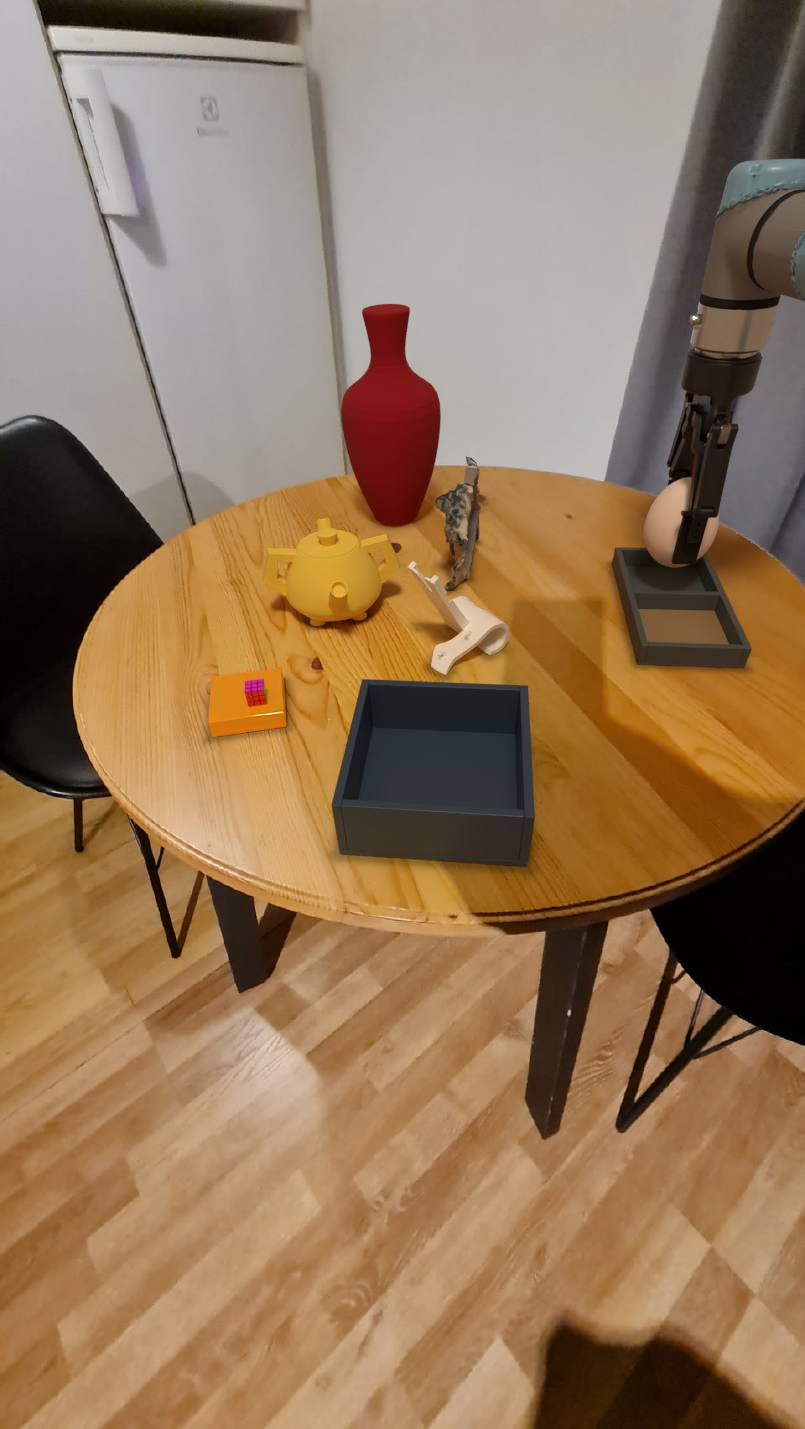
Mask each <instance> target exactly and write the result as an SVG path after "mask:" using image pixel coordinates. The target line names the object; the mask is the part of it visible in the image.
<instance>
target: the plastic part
mask: <svg viewBox="0 0 805 1429" xmlns="http://www.w3.org/2000/svg"><path fill="white" fill-rule="evenodd" d="M416 566H419V564H418V563H417V562H415V561H414V560H412V561H411V562H410V563H409V564H408V566H407V568H408V570H409V571H410V573H411V574H412V576H413V577H414V579H415V580H416V581H417V583H418V585H420V587H421V589H422V590H423V591H424V593H425V595H426V596H427V597H428V599H429V601H431V603H432V605H433V606H434V607H435V609H436V611H438V613H439V615H440V616H441V617H442V619H443V621H444V622H445V623H446V625H447V626H449V627H450V628H451V629H452V630H453V631H455V632H456V633H457V635H455V636H454V637H452V639H450V640H447V641H444V642H441V643H438V644H436V646H434V649H433V652H432V658H431V662H430V663H431V664H430V667H431V668H432V669H433V670H434V671H436V672H437V673H440V674H441V675H444V676H447V675H448V673H449V672H450V671H451V669H452V667H453V665H454V664H455V663H456V661H458V660H459V659H461V658H462V657H464V656H465V655H467V654H468V653H469V652H471V651H472V650H474V649H475V648H476V647H477V648H478V649H480V650H481V651H482V652H484V653H485V654H487V655H488V656H493V655H495V654H496V653H499V652H501V651H502V650H503V649H504V648H505V646H506V645H507V644H508V641H509V638H510V632H511V631H510V626H509V625H508V624H507V623H505V622H504V621H502V620H501V619H499V618H498V617H496V616H495V615H493V614H492V613H491V612H489V611H487V610H486V609H482V608H480V607H479V606H477V605H475V604H474V603H473V601H472V600H471V598H469V597H468V596H466V595H460V596H456V597H454V598H452V599H451V598H450V600H449V601H448V599H447V597H446V595H447V594H448V590H445V587H444V586H443V584H442V583H441V578H440V577H439V576H437V575H436V574H434V575H433V576H432V577H431V578H429V577H427V576H424V575H423V573H422V572H421V571H420V570H419V569H418V567H416Z"/></svg>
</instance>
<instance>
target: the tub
mask: <svg viewBox="0 0 805 1429" xmlns="http://www.w3.org/2000/svg"><path fill="white" fill-rule="evenodd" d="M529 696H530V694H529V685H527V684H526V685H524V684H499V683H478V682H477V683H475V682H473V683H471V682H451V681H449V682H447V681H426V680H425V681H422V680H399V679H398V680H396V679H372V678H371V679H369V678H362V679H361V681H360V686H359V690H358V694H357V697H356V698H357V699H356V702H355V703H356V704H355V707H354V711H353V715H352V718H351V722H350V727H349V731H348V736H347V740H346V744H345V748H344V752H343V756H342V760H341V764H340V768H339V771H338V772H339V773H338V777H337V780H336V785H335V789H334V794H333V797H332V801H331V805H330V806H331V811H332V817H333V821H334V829H335V835H336V840H337V845H338V846H337V847H338V851H339V854H340V855H346V856H347V855H349V856H362V857H378V858H391V859H393V858H394V859H405V860H407V859H409V860H420V861H421V860H422V861H435V862H438V861H439V862H449V863H450V862H452V863H466V864H480V865H494V866H495V865H496V866H509V867H510V866H511V867H525V868H527V867H528V865H529V864H528V863H529V858H530V852H531V844H532V839H533V833H534V832H533V831H534V826H535V824H534V823H535V818H536V815H535V794H534V777H533V757H532V756H533V754H532V737H531V736H532V735H531V718H530V717H531V716H530V699H529V698H530V697H529Z"/></svg>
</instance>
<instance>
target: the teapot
mask: <svg viewBox="0 0 805 1429" xmlns="http://www.w3.org/2000/svg"><path fill="white" fill-rule="evenodd" d="M379 549H381V552H382V555H383V560H382V561H381V562H380V563H379V564H377V562H376V560H375V558H374V557H373V555H372V552H376V551H377V550H379ZM278 562H284V563H288V564H287V568H286V572H285V576H283V575H281V574H279V573H278V567H279V566H278V565H279V564H278ZM400 568H401V565H400V560H399V558H398V556H397V553H396V551H395V549H394V546H393V544H392V543H391V540H390V538H389V536H388V533H383V534H380V535H376V536H372V537H369V538H365V539H361V540H360V539H359V538H358V537H357V536H356V535H354V533H351V532H349V531H346V530H341V529H336V528H334V527H333V521H332V519H331V518H319V519H316V531H314V532H312V533H310V534H308V535H305V536H304V537H303V538H302V539H301V540H300V541H299V542H298V544H297V545H296V547H295V548H287V547H286V548H284V547H283V548H282V547H281V548H279V547H274V548H273V547H267V549H266V553H265V560H264V566H263V572H262V583H263V586H266V587H268V588H269V589H272V590H273V591H274V592H276V593H278V594H280V595H282V596H284V597H285V598H286V600H287V602H288V603H289V604H290V606H291V607H292V608H294V609H295V610H296V611H297V612H299V613H300V614H301V615H303V616H305V617H307V618H309V624H310V625H311V626H313V627H322V626H323V625H326V624H327V622H338V621H339V622H340V621H345V620H349V619H351V620H353V621H364V620H366V618H367V617H368V613H367V611H368V609H370V608H371V606H373V604H374V603H376V602H377V600H378V598H379V597H380V595H381V592H382V588H383V584H384V583H385V582H386V581H388V579H389V578H390V577H392V575H393V574H395V572H397V570H399V569H400Z"/></svg>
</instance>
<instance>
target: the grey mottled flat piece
mask: <svg viewBox="0 0 805 1429" xmlns="http://www.w3.org/2000/svg"><path fill="white" fill-rule="evenodd" d="M465 462H466V464H467V466H466V467H465V471H464V476H463V482H459V483H457V484H456V486H455V487H454V488H453V489H449V490H448V491H446V492H445V493H442V494H441V495H439V496H437V497H436V498H435V500H434V502H435V506H436V508H437V510H438V509H439V511H440V512H442V513H443V514H444V515H445V520H444V522H445V526H444V529H443V530H444V531H443V532H444V536H445V538H446V539H445V543H448V549H449V555H450V556H451V557H454V558H455V559H454V560H455V563H454V564H453V565H452V566H451V568H450V570H451V576H450V580H449V581H448V582H447V583H446V584H445V587H444V589H445V590H446V591H450V590H451V589H452V590H453V589H455V588H456V587H457V586H458V585H459V584H461V582H463V581H464V580H467V579H470V576H471V565H472V563H473V562H472V561H473V555H474V550H475V544H476V542H477V541H479V540H480V514H481V509H482V507H481V505H480V504H479V498H480V492H481V490H480V488H479V486H478V484H479V478H480V475H481V473H480V467H478V463H477V462H476V460H475V459H473V458H472V457H470V456H465Z"/></svg>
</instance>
